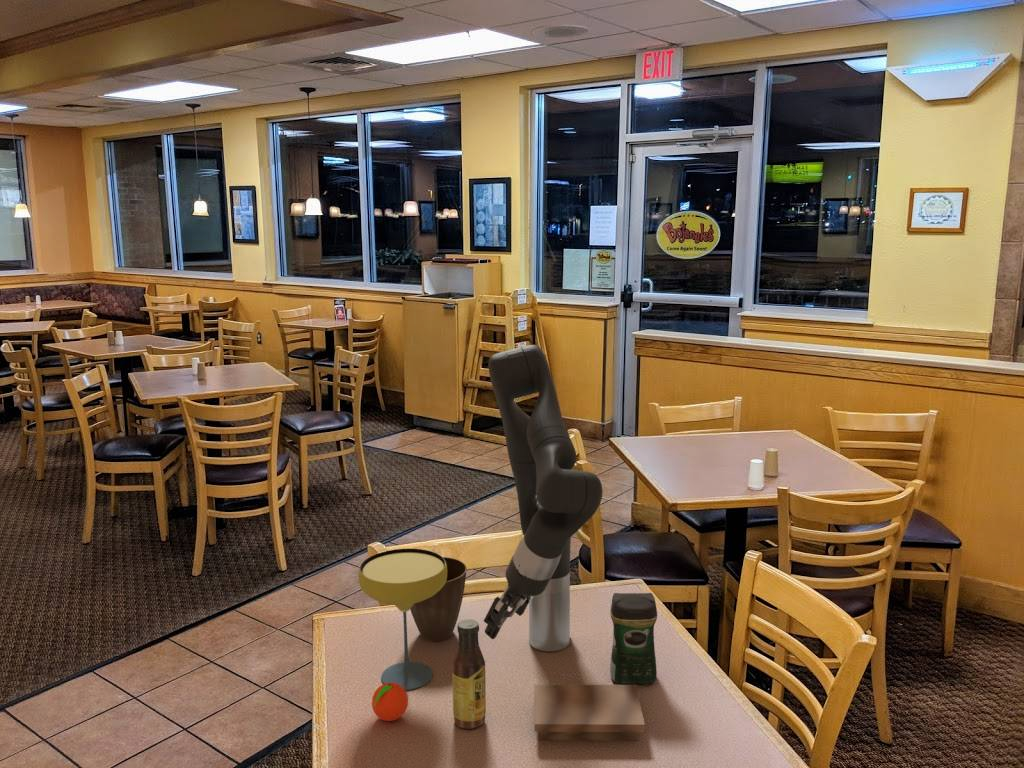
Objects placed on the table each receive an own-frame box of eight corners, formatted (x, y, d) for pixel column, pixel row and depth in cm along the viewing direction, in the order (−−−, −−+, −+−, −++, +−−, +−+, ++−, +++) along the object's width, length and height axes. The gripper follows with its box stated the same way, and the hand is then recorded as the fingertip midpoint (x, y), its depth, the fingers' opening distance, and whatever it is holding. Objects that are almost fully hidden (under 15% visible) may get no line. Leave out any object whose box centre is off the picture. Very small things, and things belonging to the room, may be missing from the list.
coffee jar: (653, 667, 173) (655, 586, 169) (658, 688, 165) (661, 603, 162) (607, 667, 173) (608, 586, 170) (611, 688, 165) (612, 603, 162)
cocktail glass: (379, 710, 159) (374, 591, 154) (352, 667, 174) (347, 558, 170) (463, 685, 167) (461, 572, 162) (431, 646, 182) (427, 542, 178)
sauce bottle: (481, 732, 151) (479, 634, 147) (449, 729, 152) (446, 631, 149) (489, 712, 157) (488, 618, 154) (458, 709, 159) (456, 615, 155)
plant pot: (407, 653, 179) (404, 586, 176) (400, 622, 194) (398, 560, 191) (473, 645, 183) (472, 579, 180) (462, 615, 197) (460, 553, 194)
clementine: (389, 736, 150) (387, 701, 149) (361, 724, 154) (359, 690, 153) (416, 714, 157) (414, 681, 156) (388, 703, 161) (387, 671, 159)
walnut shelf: (534, 743, 148) (534, 724, 147) (534, 702, 160) (534, 684, 160) (644, 744, 147) (644, 724, 146) (635, 703, 160) (635, 684, 159)
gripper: (540, 531, 145) (510, 592, 153) (493, 566, 134) (464, 629, 142) (572, 557, 142) (540, 617, 150) (527, 595, 131) (496, 658, 139)
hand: (503, 623), depth 146 cm, fingers open, 8 cm apart
